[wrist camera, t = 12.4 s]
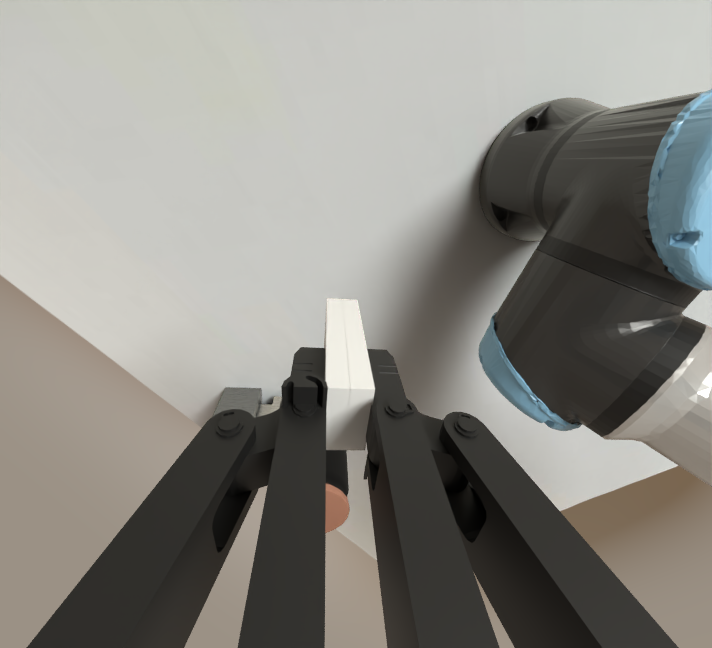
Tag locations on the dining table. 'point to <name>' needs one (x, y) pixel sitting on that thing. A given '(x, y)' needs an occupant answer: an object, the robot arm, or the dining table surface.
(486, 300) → the dining table surface
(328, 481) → the coffee jar
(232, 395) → the gauge housing
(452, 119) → the dining table surface
